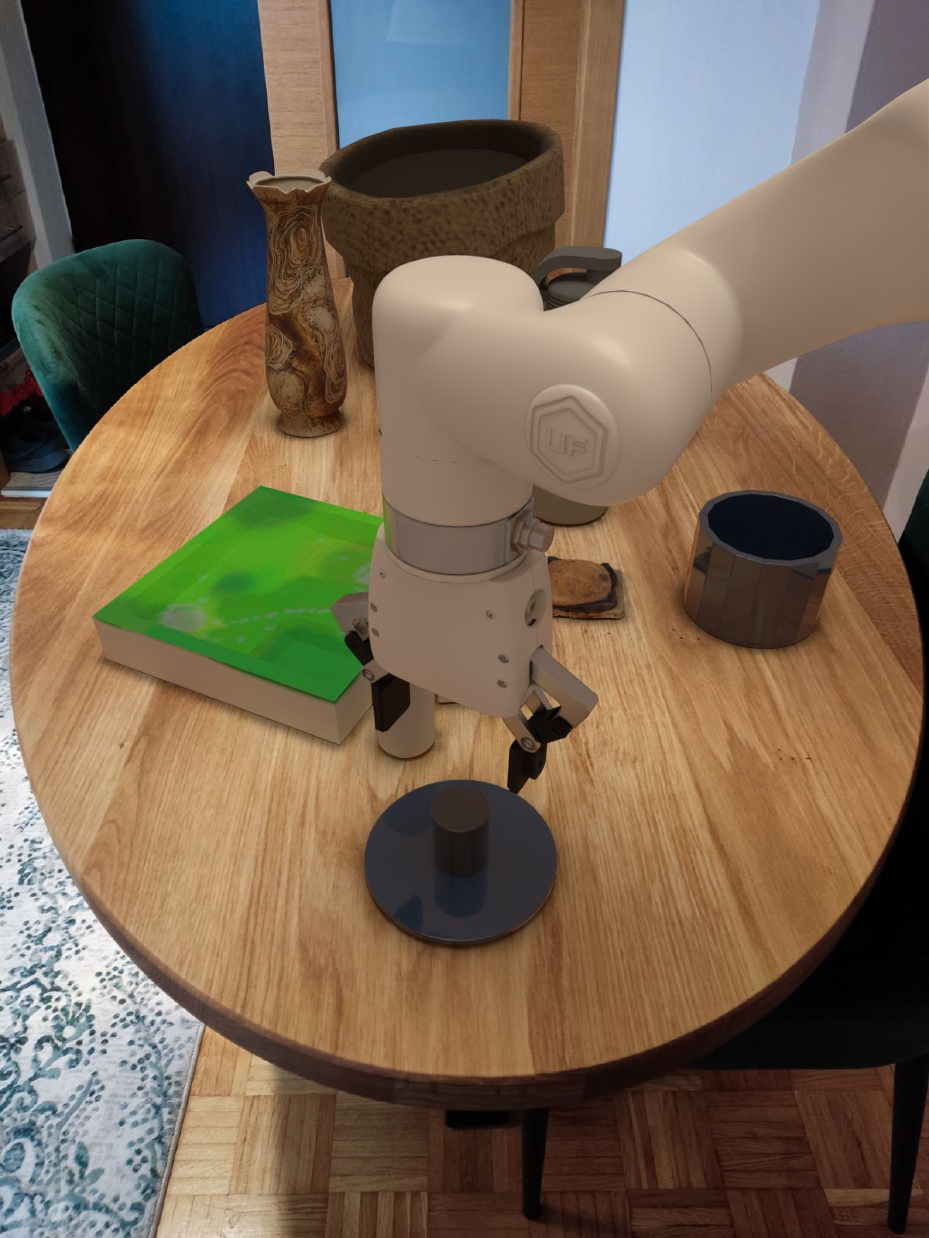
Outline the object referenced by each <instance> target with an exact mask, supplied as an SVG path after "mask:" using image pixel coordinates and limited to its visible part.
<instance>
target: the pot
mask: <svg viewBox="0 0 929 1238" xmlns="http://www.w3.org/2000/svg"><path fill="white" fill-rule="evenodd" d="M564 165H565V164H564V148H563V141H562V137H561V135H560V134H559V133H557V132H556V130H554V129H553V128H551V127H550V126H549V125H548V124H547V123H542V122H535V121H527V120H522V119H521V120H520V119H503V118H502V119H501V118H500V119H499V118H479V119H477V118H476V119H457V120H450V121H440V122H431V123H422V124H414V125H405V126H397V127H392V128H389V129H385V130H383V131H379V132H376V133H374V134H370V135H366V136H364V137H361V138H359V139H358V140H355V141H353V142H352V143H349V144H347V145H345V146H343V147H341V148H338V149H337V150H336V151H335V152H333V153H332V154H331V155H330V156H329V157H327V158H326V159H325V160H323V161H322V162H321V163H320V165H319V168H318V169H317V170H319V171H321V172H323V173H324V174H325V176H326V178H327V177H329V176H330V177H331V181H332V182H331V184H330V186H329V188H328V191H327V193H326V195H325V197H324V199H323V202H322V204H321V224H322V230H323V235H324V239H325V240H326V242H327V243H328V244H329V245H330V246H331V247H332V248H333V249H334V250H335V252H337V253H338V254H339V255H340V256H341V257H342V261H343V264H344V267H345V269H346V272H347V274H348V276H349V278H350V280H351V281H352V284H353V287H352V294H351V305H352V317H353V324H354V327H355V330H356V334H357V335H358V336H357V337H358V340H359V343H360V344H359V350H360V353H361V355H362V357H363V359H364V362H365V363H366V364H367V365H368V366H369V367H371V368H372V369H373V370H375V364H374V347H373V330H372V305H373V299H374V295H375V292H376V289H377V288H378V286H379V285H380V283H381V281H382V280H383V278H384V277H385V276H387V275H388V274H389V273H390V272H391V271H393V270H394V269H395V268H397V267H399V266H401V265H404V264H406V263H409V262H413V261H417V260H420V259H425V258H430V257H437V256H453V255H461V256H476V257H484V258H489V259H494V260H498V261H501V262H505V263H508V264H511V265H513V266H515V267H517V268H519V269H521V270H522V271H524V272H525V273H526V274H527V275H528V276H531V274H532V273H533V272H534V270H535V269H536V267H537V266H538V265H539V264H540V263H541V261H542V260H543V259H544V258H545V257H546V256H547V255H548V254H549V253H551V252H552V251H554V250H555V248H556V222H557V221H558V220H559V219H560V218H561V217H562V216H563V214H564V213H565V211H566V198H565V197H566V196H565V195H566V194H565V170H564V169H565V168H564ZM549 281H550V279H549V274H547V276H546V280H545V285H546V286H548V283H549ZM543 309H544V310H547V308H546V302H545V301H543Z"/></svg>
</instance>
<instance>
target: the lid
mask: <svg viewBox="0 0 929 1238" xmlns="http://www.w3.org/2000/svg"><path fill="white" fill-rule="evenodd" d="M557 852H558V851H557V846H556V842H555V838H554V836H553V833H552V831H551V829H550V827H549V825H548V823H547V822H546V820H545V819H544V817H543V816H542V815H541V813H540V812H539V811H538V810H537V809H536V808H535V807H534V806H533V805H532V804H531V803H529V801H527V800H526V799H525V798H523V797H522V796H520V795H519V794H515V793H513V792H510V791H509V788H505V787H502V786H500V785H499V784H494V783H491V782H487V781H481V780H475V779H463V778H462V779H447V780H440V781H435V782H431V783H428V784H425V785H423V786H420V787H417V788H414V789H413V790H411V791H409V792H406V793H405V794H404V795H402V796H401V797H399V798H398V799H396V800H395V801H394V802H392V803H391V804H390V805H389V806H388V807H387V808H386V809H385V810H383V812H382V813H381V815H380V816H379V817H378V818H377V820H376V821H375V822H374V825H373V827H372V828H371V830H370V832H369V835H368V837H367V840H366V844H365V849H364V856H363V857H364V858H363V866H364V873H365V880H366V883H367V888H368V890H369V892H370V894H371V896H372V899H373V900H374V901H375V903H376V904H377V906H378V908H379V909H380V910H381V912H383V913H384V915H385V916H386V917H387V918H388V919H390V921H392V922H393V923H394V924H395V925H397V926H398V927H400V928H401V929H403V930H404V931H406V932H408V933H410V934H411V935H414V936H416V937H418V938H421V939H423V940H427V941H430V942H434V943H439V944H445V945H456V946H463V945H464V946H465V945H477V944H482V943H487V942H491V941H493V940H497V939H500V938H503V937H504V936H507V935H509V934H511V933H513V932H514V931H516V930H518V929H519V928H521V927H522V926H524V925H525V924H526V923H527V922H529V921H530V920H531V919H533V917H534V916H536V914H537V913H538V912H539V911H540V910H541V909H542V907H543V905H544V904H545V903H546V902H547V900H548V898H549V896H550V894H551V892H552V890H553V887H554V884H555V880H556V875H557V869H558V853H557Z"/></svg>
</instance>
